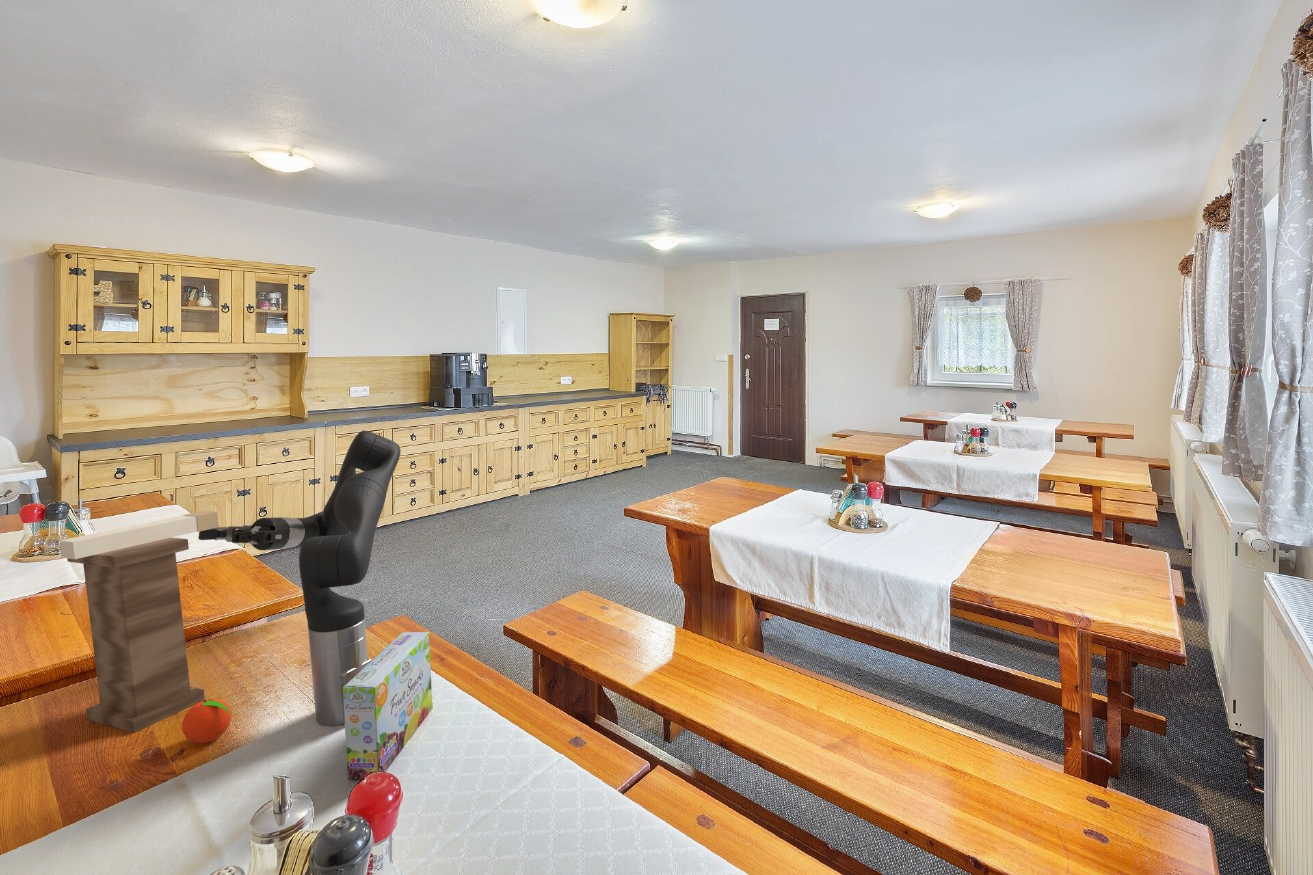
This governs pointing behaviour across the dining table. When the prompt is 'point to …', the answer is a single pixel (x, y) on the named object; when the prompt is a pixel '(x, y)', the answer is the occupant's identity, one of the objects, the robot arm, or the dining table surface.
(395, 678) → the snack box
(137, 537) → the cream wooden bar
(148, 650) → the walnut pedestal
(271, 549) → the robot arm
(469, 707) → the dining table surface
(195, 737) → the clementine
